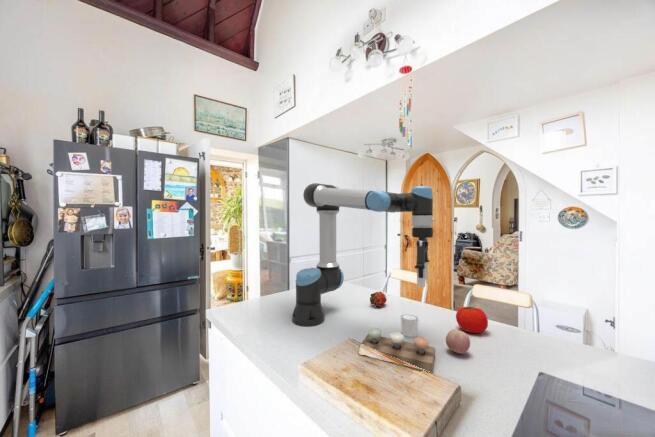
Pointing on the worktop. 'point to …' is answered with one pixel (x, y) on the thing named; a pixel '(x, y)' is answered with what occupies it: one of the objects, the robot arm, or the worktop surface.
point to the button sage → (374, 334)
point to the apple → (458, 341)
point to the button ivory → (397, 339)
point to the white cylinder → (409, 325)
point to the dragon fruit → (378, 299)
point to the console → (404, 352)
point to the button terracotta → (421, 344)
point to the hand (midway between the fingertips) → (422, 282)
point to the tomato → (472, 319)
